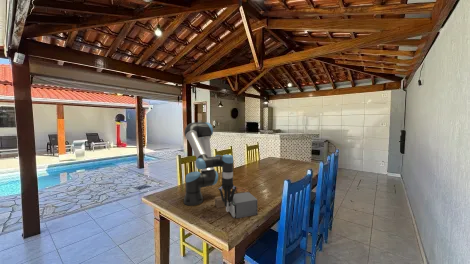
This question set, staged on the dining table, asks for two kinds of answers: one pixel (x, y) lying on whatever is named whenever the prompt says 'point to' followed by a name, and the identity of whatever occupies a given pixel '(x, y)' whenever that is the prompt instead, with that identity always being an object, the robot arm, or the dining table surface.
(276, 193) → the dining table surface
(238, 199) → the grey drawer cabinet
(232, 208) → the grey drawer
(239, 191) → the bread
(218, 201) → the riser cube
